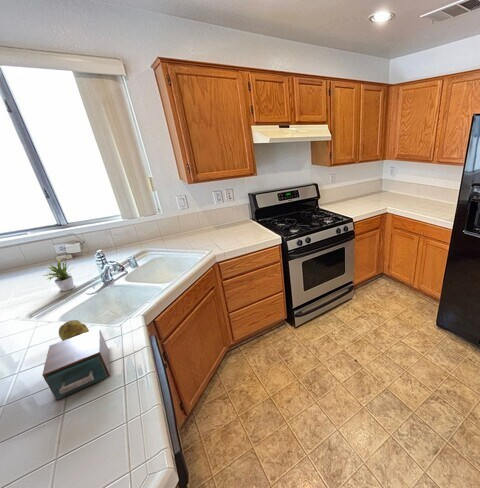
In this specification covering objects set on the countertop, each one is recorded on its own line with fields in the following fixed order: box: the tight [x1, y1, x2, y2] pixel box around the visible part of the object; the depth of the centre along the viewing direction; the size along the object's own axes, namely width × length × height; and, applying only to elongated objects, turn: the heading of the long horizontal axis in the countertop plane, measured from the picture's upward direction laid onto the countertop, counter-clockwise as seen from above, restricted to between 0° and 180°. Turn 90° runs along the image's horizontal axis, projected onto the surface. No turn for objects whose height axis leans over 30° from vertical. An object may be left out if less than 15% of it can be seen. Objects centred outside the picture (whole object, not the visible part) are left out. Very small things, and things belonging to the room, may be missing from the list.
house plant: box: [37, 259, 75, 292], centre depth 139 cm, size 14×14×16 cm
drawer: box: [46, 356, 108, 400], centre depth 81 cm, size 19×11×8 cm, turn 40°
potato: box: [58, 319, 90, 341], centre depth 98 cm, size 8×13×8 cm, turn 45°
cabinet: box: [41, 327, 111, 401], centre depth 84 cm, size 16×13×10 cm
